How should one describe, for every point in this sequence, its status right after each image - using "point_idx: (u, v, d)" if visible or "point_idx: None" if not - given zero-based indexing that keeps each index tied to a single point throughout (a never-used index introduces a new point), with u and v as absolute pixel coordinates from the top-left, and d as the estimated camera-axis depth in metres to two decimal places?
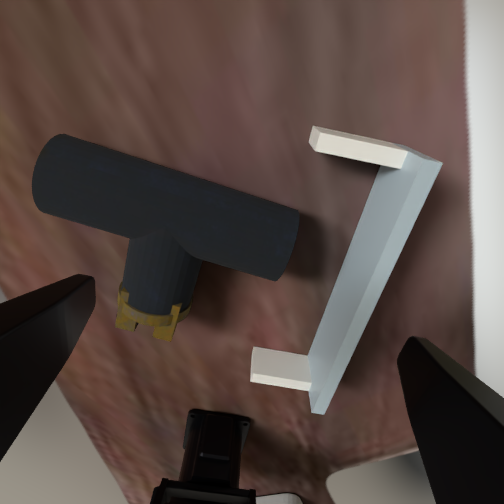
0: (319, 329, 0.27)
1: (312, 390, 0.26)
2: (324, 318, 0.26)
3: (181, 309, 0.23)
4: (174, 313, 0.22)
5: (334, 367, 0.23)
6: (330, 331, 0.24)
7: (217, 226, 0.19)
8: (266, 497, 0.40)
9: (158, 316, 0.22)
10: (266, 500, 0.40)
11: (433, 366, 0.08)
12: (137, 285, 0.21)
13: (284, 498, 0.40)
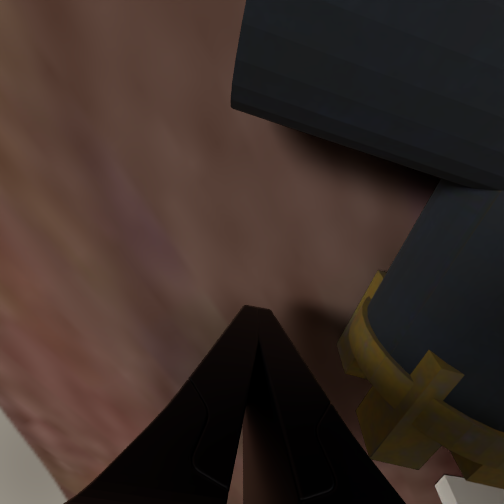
0: None
1: None
2: None
3: None
4: None
5: None
6: None
7: None
8: None
9: None
10: None
11: (256, 334, 0.08)
12: None
13: None
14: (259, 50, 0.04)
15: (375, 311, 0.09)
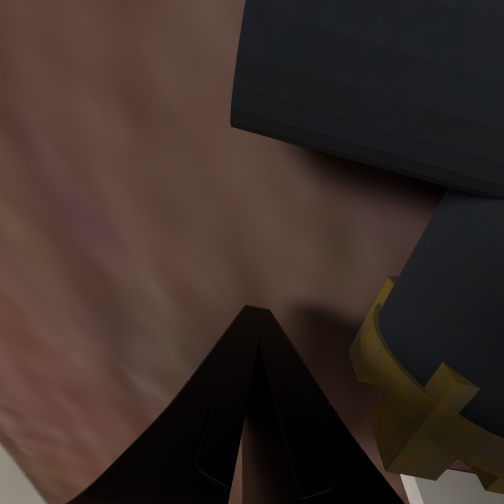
0: None
1: None
2: None
3: None
4: None
5: None
6: None
7: None
8: None
9: None
10: None
11: None
12: None
13: None
14: (256, 76, 0.04)
15: (386, 320, 0.09)
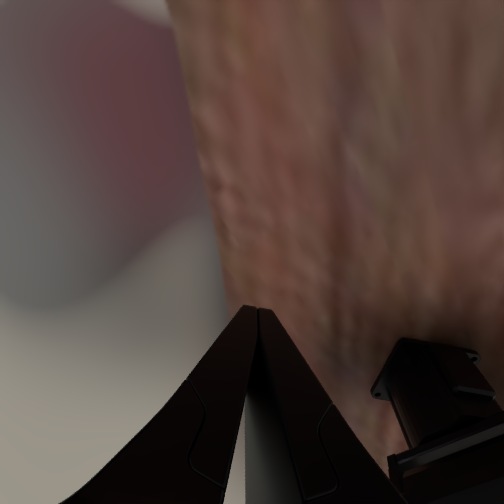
0: None
1: None
2: None
3: None
4: None
5: None
6: None
7: None
8: None
9: None
10: None
11: (257, 334, 0.08)
12: None
13: None
14: None
15: None
